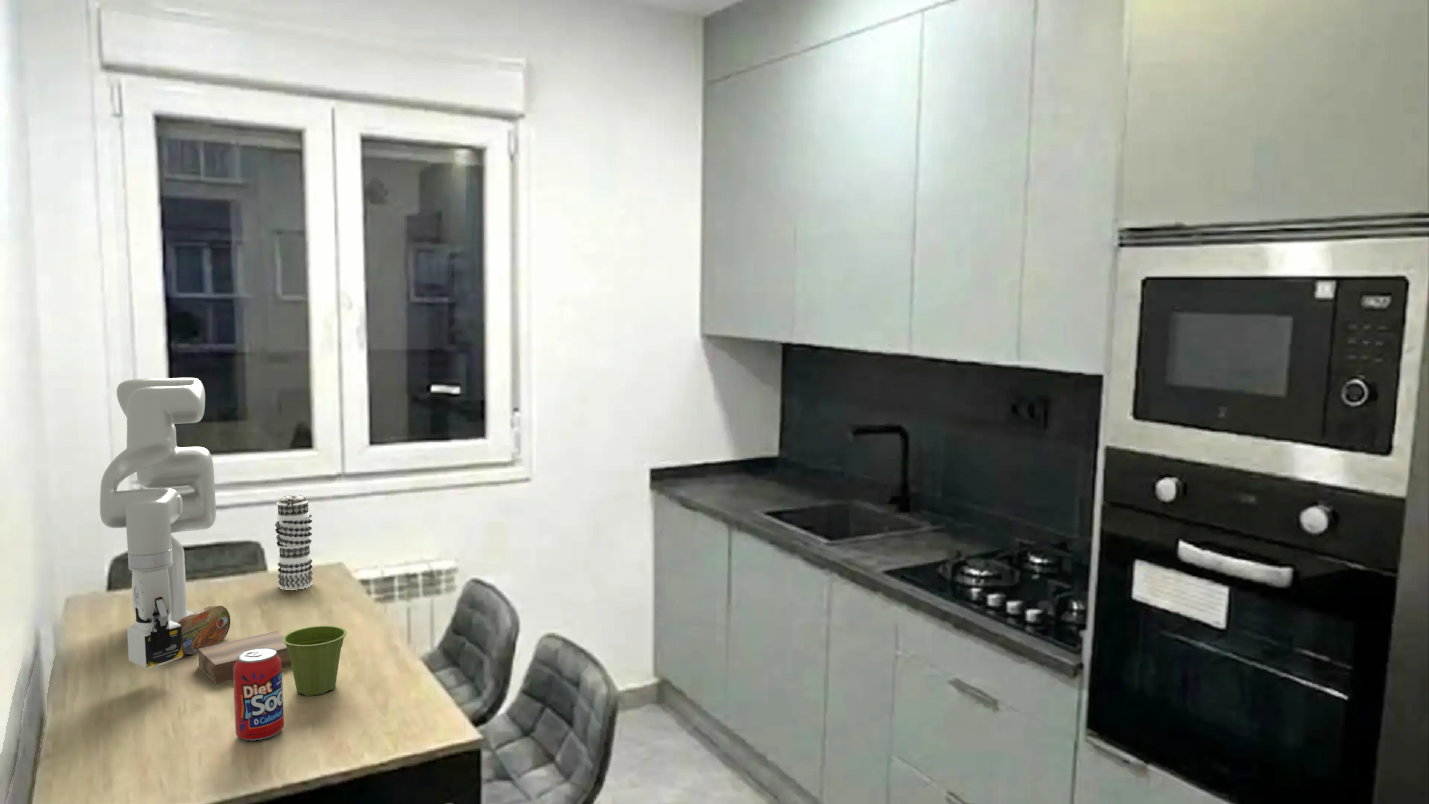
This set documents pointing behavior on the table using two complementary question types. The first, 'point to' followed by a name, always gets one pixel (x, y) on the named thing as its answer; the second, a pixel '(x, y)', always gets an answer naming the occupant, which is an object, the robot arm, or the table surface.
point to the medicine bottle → (142, 643)
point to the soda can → (258, 694)
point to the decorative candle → (294, 542)
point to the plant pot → (315, 657)
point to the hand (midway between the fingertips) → (155, 642)
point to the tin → (204, 628)
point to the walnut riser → (224, 655)
